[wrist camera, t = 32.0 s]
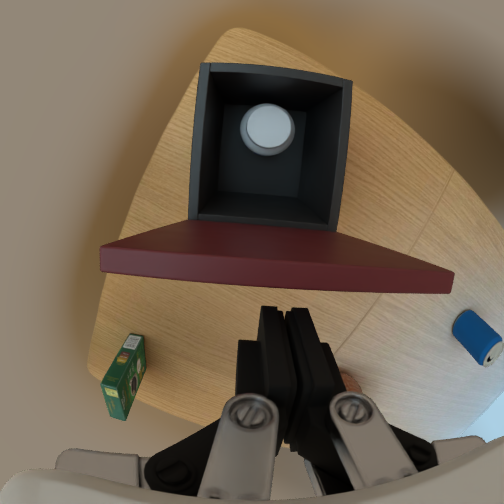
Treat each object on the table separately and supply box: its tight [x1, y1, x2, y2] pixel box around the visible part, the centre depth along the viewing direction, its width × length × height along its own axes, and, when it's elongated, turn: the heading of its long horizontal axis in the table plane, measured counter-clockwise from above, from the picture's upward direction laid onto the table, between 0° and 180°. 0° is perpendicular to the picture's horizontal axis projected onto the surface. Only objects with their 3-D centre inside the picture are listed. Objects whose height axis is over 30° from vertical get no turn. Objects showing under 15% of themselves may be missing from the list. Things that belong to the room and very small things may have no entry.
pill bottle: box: [240, 103, 295, 156], centre depth 27 cm, size 5×5×10 cm
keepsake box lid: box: [100, 220, 455, 294], centre depth 14 cm, size 14×12×1 cm
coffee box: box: [100, 333, 146, 421], centre depth 37 cm, size 8×3×13 cm, turn 171°
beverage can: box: [453, 310, 504, 367], centre depth 38 cm, size 6×6×12 cm
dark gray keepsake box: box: [188, 63, 353, 232], centre depth 26 cm, size 13×12×15 cm
